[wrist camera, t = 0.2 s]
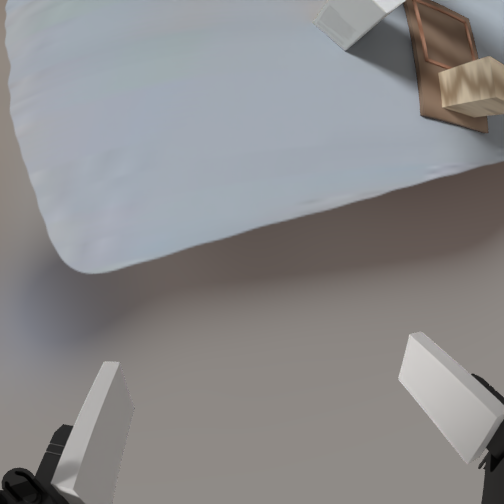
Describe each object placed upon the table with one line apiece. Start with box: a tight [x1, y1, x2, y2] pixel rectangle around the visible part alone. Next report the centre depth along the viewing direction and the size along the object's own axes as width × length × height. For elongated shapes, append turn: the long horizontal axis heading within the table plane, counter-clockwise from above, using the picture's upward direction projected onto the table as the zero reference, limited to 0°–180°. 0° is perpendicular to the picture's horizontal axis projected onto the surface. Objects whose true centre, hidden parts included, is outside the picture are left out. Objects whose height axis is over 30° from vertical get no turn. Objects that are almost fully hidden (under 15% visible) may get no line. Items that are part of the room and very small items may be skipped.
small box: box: [313, 0, 406, 51], centre depth 26 cm, size 8×6×13 cm
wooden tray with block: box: [403, 0, 504, 133], centre depth 29 cm, size 24×16×13 cm, turn 1°
